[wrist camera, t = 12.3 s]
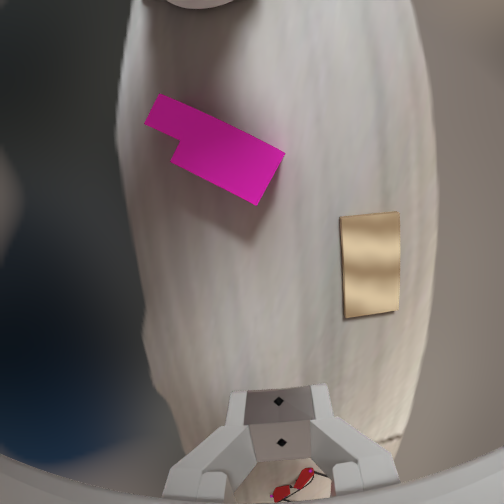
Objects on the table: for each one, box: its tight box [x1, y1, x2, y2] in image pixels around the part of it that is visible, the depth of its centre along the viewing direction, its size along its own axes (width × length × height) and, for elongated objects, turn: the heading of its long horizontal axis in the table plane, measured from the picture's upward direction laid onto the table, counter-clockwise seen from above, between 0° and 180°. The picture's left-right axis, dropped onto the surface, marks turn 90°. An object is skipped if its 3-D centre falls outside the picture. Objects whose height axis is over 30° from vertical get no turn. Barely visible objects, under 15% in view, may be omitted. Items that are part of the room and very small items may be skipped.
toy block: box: [144, 93, 285, 206], centre depth 36 cm, size 15×6×8 cm, turn 62°
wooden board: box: [340, 211, 400, 318], centre depth 42 cm, size 14×8×1 cm, turn 8°
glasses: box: [270, 468, 329, 503], centre depth 55 cm, size 14×16×5 cm
